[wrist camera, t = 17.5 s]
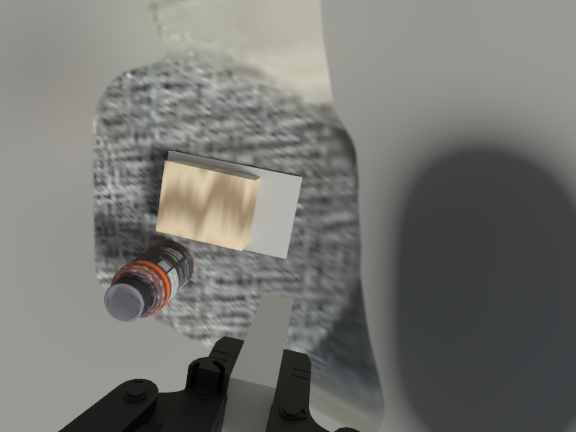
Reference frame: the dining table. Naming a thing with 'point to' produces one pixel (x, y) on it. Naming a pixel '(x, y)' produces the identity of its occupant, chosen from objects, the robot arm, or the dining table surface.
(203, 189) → the small box
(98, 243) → the dining table surface
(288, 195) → the grey mat
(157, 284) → the supplement bottle
